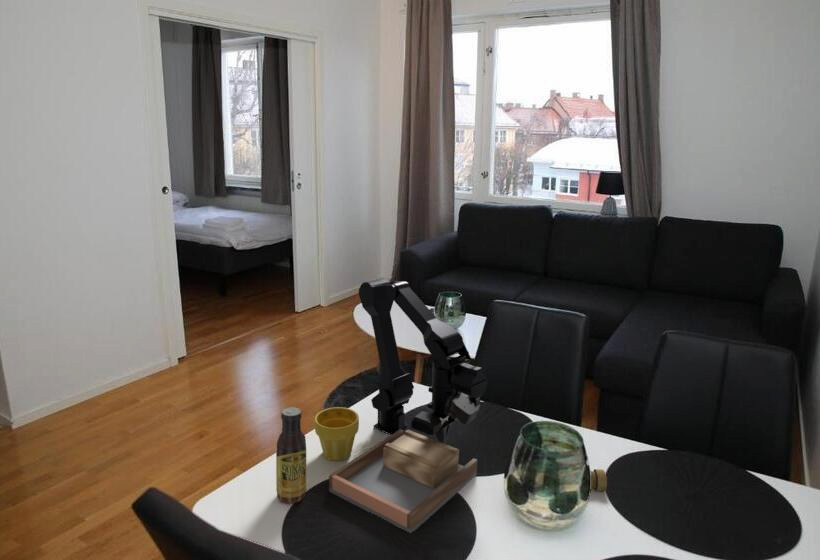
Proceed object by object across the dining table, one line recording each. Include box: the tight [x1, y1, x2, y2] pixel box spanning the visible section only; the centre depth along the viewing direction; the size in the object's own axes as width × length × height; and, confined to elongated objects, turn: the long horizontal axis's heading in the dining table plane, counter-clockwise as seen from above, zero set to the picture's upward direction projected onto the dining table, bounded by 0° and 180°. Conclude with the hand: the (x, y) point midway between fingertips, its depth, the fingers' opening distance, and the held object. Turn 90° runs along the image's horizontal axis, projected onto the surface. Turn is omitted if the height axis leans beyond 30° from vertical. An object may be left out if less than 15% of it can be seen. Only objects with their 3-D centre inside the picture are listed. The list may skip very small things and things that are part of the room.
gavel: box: [590, 468, 608, 492], centre depth 139 cm, size 21×5×10 cm
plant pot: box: [313, 406, 360, 462], centre depth 141 cm, size 10×10×10 cm
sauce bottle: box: [275, 406, 307, 505], centre depth 123 cm, size 7×6×20 cm
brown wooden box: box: [383, 429, 460, 488], centre depth 135 cm, size 14×10×5 cm
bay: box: [328, 429, 478, 534], centre depth 131 cm, size 22×25×4 cm
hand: (442, 443), depth 142 cm, fingers closed
